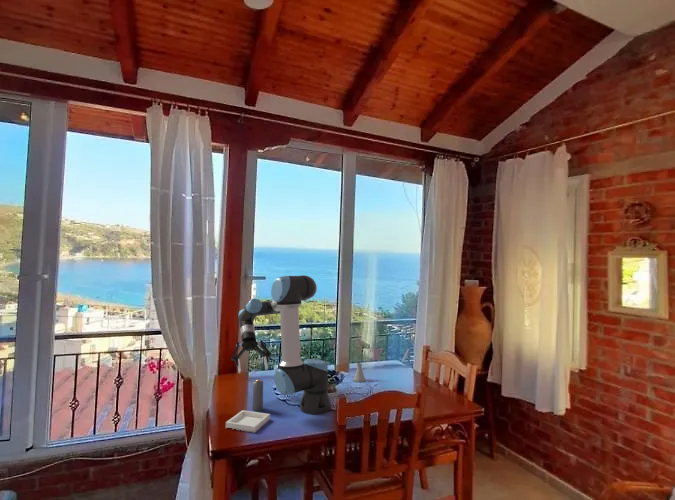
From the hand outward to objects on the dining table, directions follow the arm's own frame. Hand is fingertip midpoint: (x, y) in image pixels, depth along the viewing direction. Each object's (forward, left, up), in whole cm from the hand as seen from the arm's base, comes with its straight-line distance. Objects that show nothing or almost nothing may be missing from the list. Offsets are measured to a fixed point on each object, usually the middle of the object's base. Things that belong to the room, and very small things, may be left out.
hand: (253, 370), depth 204 cm
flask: (-43, -50, -16) cm, 68 cm away
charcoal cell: (-7, +8, -16) cm, 19 cm away
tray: (-11, +24, -16) cm, 31 cm away
